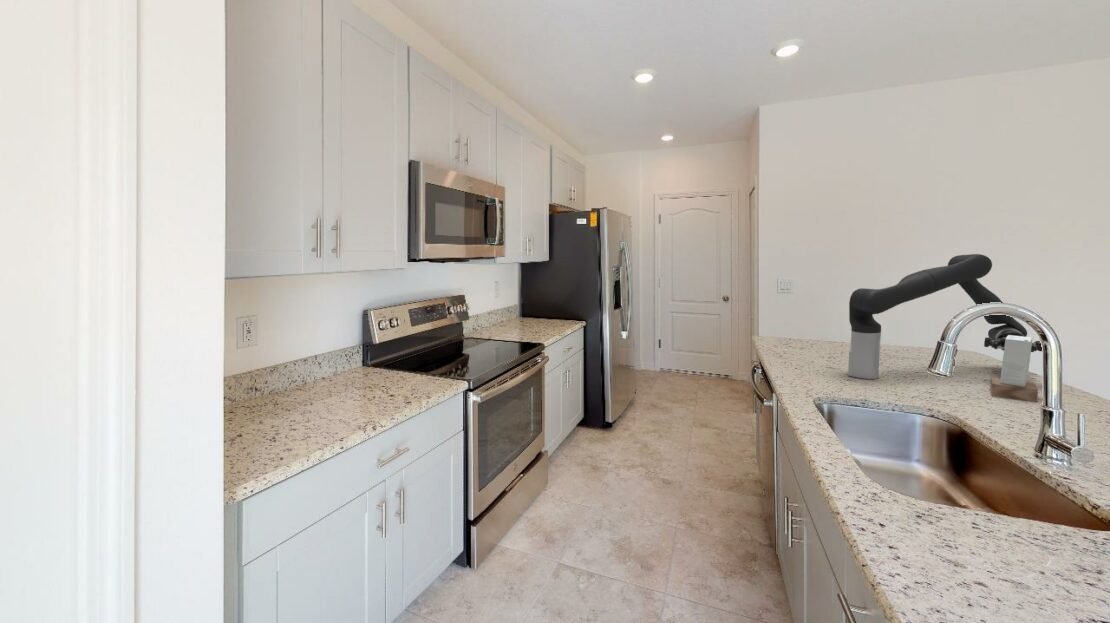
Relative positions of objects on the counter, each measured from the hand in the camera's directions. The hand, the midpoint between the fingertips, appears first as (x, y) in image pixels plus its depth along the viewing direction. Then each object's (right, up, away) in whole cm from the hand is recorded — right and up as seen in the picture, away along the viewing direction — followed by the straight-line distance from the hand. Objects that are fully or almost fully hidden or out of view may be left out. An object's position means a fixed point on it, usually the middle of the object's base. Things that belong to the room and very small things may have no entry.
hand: (1014, 347), depth 151 cm
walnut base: (-6, -15, -5) cm, 17 cm away
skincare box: (-5, -11, -5) cm, 13 cm away
